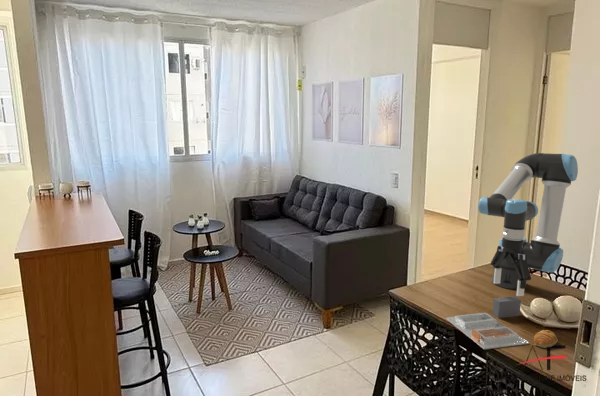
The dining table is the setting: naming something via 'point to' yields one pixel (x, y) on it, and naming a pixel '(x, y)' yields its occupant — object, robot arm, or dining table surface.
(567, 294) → the dining table surface
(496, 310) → the grey rectangular block
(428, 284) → the dining table surface
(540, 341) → the pastry
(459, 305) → the dining table surface
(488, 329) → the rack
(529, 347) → the dining table surface
